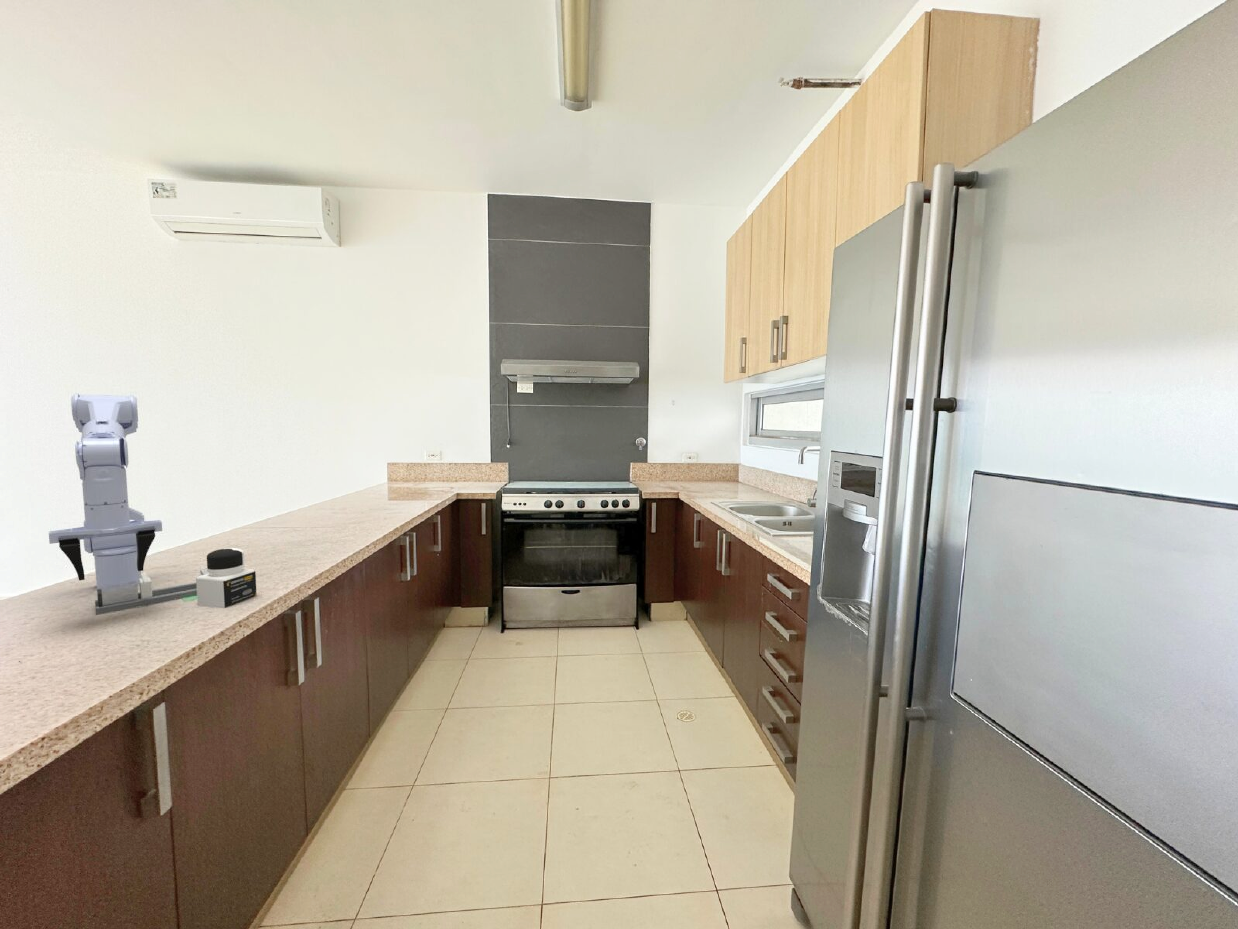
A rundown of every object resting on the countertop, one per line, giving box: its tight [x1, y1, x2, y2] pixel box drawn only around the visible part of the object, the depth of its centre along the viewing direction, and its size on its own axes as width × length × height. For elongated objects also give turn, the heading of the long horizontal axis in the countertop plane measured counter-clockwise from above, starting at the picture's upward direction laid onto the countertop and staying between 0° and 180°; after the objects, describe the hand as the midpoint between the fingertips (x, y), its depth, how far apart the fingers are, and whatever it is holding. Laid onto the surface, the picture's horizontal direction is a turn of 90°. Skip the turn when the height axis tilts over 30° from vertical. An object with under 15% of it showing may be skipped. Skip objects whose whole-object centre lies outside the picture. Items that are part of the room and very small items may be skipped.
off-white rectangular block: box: [138, 571, 153, 600], centre depth 103 cm, size 9×2×5 cm, turn 47°
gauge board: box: [94, 568, 208, 616], centre depth 104 cm, size 12×18×5 cm, turn 137°
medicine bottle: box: [195, 547, 258, 609], centre depth 103 cm, size 7×7×12 cm
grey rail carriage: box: [96, 581, 139, 607], centre depth 100 cm, size 4×6×4 cm
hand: (111, 574), depth 93 cm, fingers open, 7 cm apart
